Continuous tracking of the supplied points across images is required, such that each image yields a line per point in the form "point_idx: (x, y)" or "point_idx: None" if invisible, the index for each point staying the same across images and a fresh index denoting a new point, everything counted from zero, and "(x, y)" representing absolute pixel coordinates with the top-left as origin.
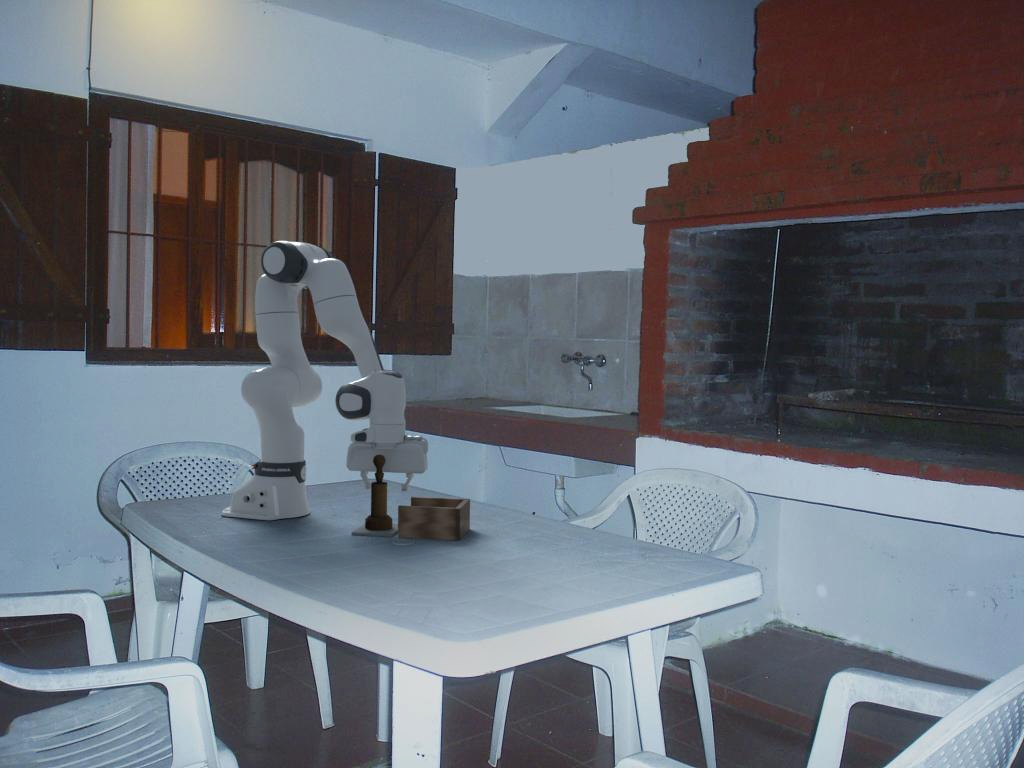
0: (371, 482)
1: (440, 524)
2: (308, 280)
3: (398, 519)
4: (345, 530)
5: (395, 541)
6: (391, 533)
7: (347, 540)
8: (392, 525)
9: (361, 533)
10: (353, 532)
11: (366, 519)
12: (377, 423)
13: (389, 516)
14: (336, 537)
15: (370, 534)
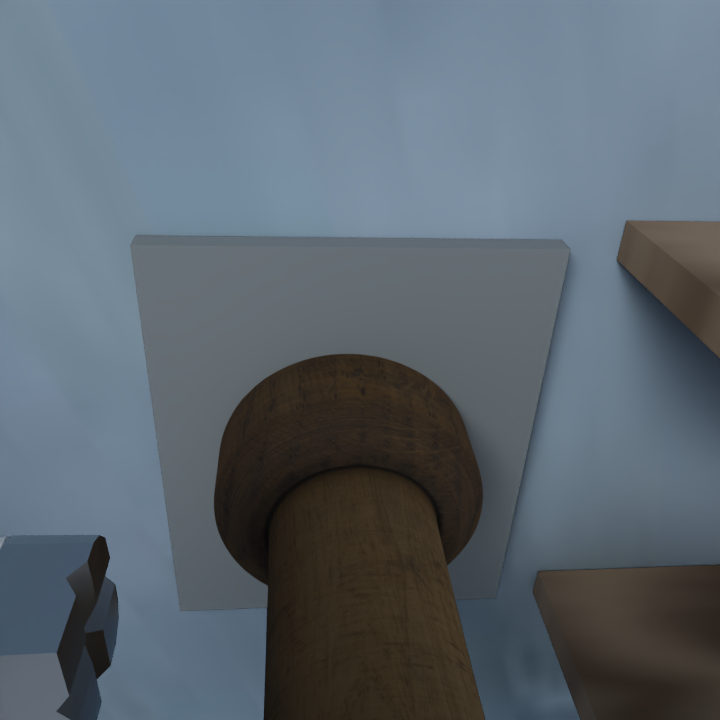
0: (70, 693)
1: None
2: None
3: (582, 715)
4: (60, 490)
5: (526, 661)
6: (486, 580)
7: (222, 700)
8: (449, 341)
9: (260, 602)
10: (196, 610)
11: (246, 569)
12: None
13: (461, 515)
14: (113, 662)
15: None
